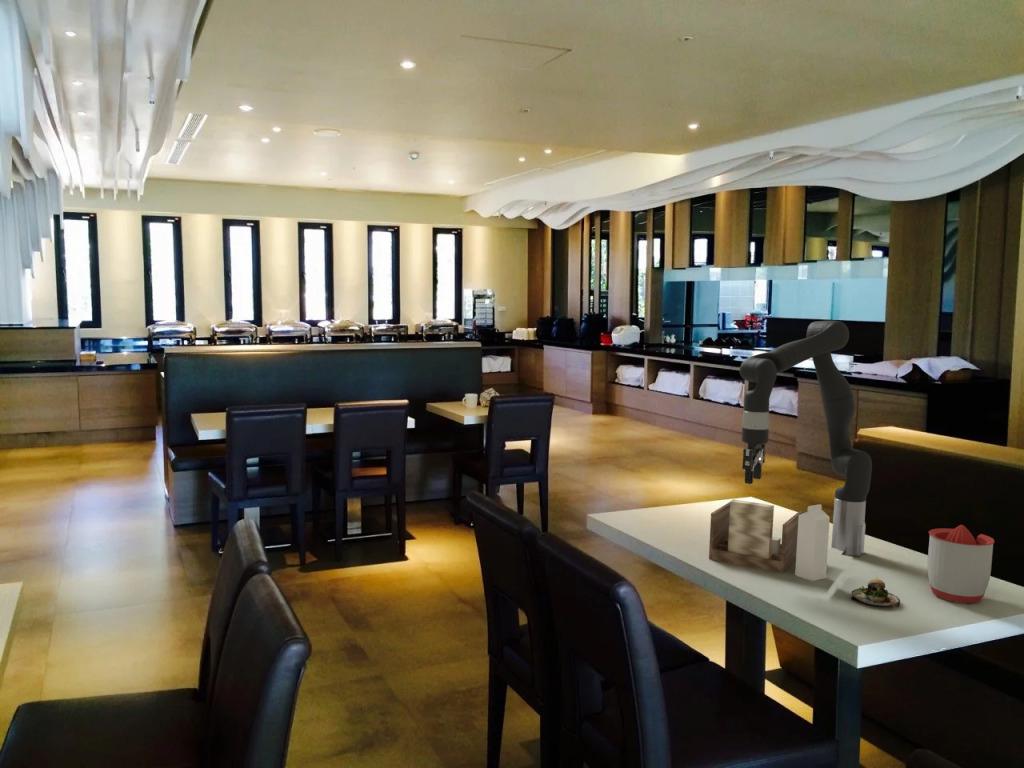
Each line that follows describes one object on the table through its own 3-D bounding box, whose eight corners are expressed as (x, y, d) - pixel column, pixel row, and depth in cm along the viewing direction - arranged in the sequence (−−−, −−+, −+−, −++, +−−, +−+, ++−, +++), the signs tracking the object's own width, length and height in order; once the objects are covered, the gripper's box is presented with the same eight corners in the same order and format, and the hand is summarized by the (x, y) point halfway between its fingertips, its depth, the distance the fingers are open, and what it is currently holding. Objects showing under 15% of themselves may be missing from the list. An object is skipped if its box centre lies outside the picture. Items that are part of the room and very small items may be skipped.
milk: (825, 583, 230) (831, 506, 228) (812, 586, 227) (817, 509, 225) (807, 576, 235) (812, 501, 233) (793, 579, 232) (799, 504, 230)
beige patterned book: (770, 565, 240) (774, 505, 238) (767, 568, 238) (771, 507, 236) (730, 557, 246) (733, 499, 245) (727, 560, 244) (730, 501, 242)
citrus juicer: (999, 596, 223) (1005, 524, 221) (979, 612, 210) (985, 536, 209) (937, 581, 234) (943, 513, 232) (915, 595, 222) (920, 523, 220)
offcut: (779, 560, 245) (780, 538, 244) (776, 563, 242) (778, 540, 241) (762, 557, 247) (763, 535, 247) (759, 560, 245) (761, 537, 244)
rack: (800, 560, 250) (803, 511, 249) (783, 578, 233) (786, 525, 232) (729, 547, 262) (731, 500, 260) (708, 563, 245) (711, 513, 244)
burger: (843, 601, 217) (845, 573, 216) (861, 591, 225) (863, 564, 224) (889, 614, 208) (891, 585, 208) (906, 603, 217) (908, 575, 216)
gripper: (761, 430, 230) (758, 487, 232) (775, 424, 242) (772, 478, 244) (735, 428, 234) (732, 483, 236) (749, 422, 246) (747, 475, 248)
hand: (752, 481), depth 240 cm, fingers open, 8 cm apart
